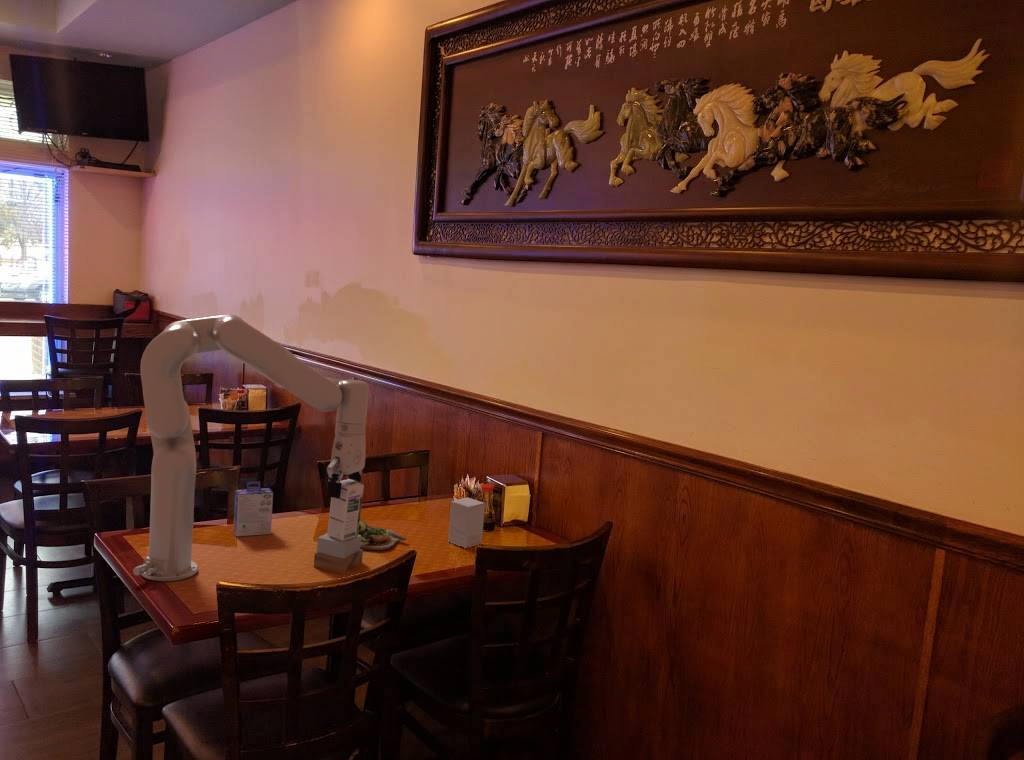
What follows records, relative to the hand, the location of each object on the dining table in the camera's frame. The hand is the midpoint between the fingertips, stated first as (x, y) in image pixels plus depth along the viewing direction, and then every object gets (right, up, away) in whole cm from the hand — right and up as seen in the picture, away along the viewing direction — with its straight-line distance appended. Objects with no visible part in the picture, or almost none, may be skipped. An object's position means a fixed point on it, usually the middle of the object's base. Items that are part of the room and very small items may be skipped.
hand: (344, 493), depth 204 cm
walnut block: (-2, -19, +2) cm, 20 cm away
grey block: (-2, -15, +2) cm, 16 cm away
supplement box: (+29, -19, +28) cm, 45 cm away
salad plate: (+1, -17, +23) cm, 29 cm away
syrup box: (-1, -11, +1) cm, 12 cm away
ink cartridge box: (-30, -14, +20) cm, 39 cm away
